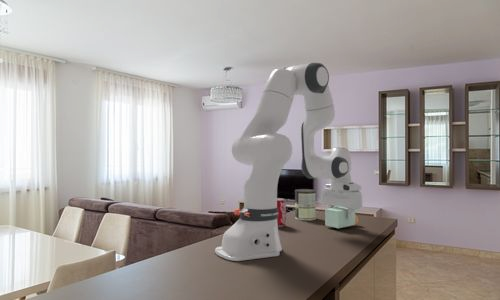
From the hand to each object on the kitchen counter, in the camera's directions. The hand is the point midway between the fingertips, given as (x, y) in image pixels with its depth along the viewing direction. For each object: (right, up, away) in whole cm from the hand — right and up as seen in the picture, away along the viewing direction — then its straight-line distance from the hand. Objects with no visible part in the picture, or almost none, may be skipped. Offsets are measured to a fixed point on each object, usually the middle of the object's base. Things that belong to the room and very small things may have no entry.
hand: (340, 217), depth 148 cm
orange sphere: (+6, -2, +4) cm, 8 cm away
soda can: (-27, -5, +4) cm, 28 cm away
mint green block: (0, -3, 0) cm, 3 cm away
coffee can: (-12, -5, +21) cm, 25 cm away
